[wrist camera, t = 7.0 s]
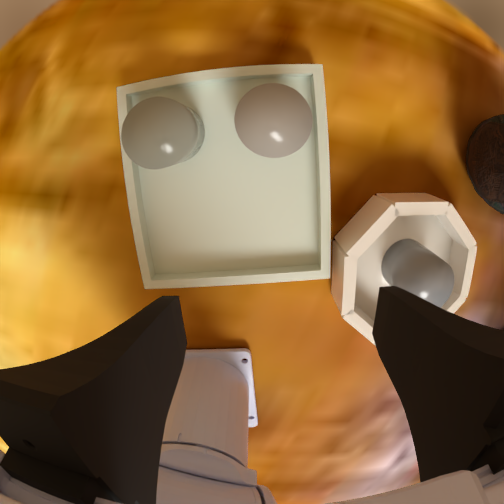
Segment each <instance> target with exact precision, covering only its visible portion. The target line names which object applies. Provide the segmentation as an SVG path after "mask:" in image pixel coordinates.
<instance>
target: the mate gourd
mask: <svg viewBox="0 0 504 504" xmlns="http://www.w3.org/2000/svg"><path fill="white" fill-rule="evenodd" d="M466 165H467V172H468V175H469V177H470V179H471V181H472V184H473V186H474V189H475V190H476V192H477V193H478V194H479V195H480V196H481V197H482V198H483V199H484V200H485V201H486V203H487V204H489V205H490V206H491V207H493V208H494V209H495V210H497V211H499V212H500V213H501V214H504V114H503V115H498V116H494V117H492V118H489V119H487V120H485V121H483V122H482V123H480V124H479V125H478V126H477V127H476V129H475V130H474V132H473V134H472V135H471V137H470V139H469V142H468V147H467V154H466Z"/></svg>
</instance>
